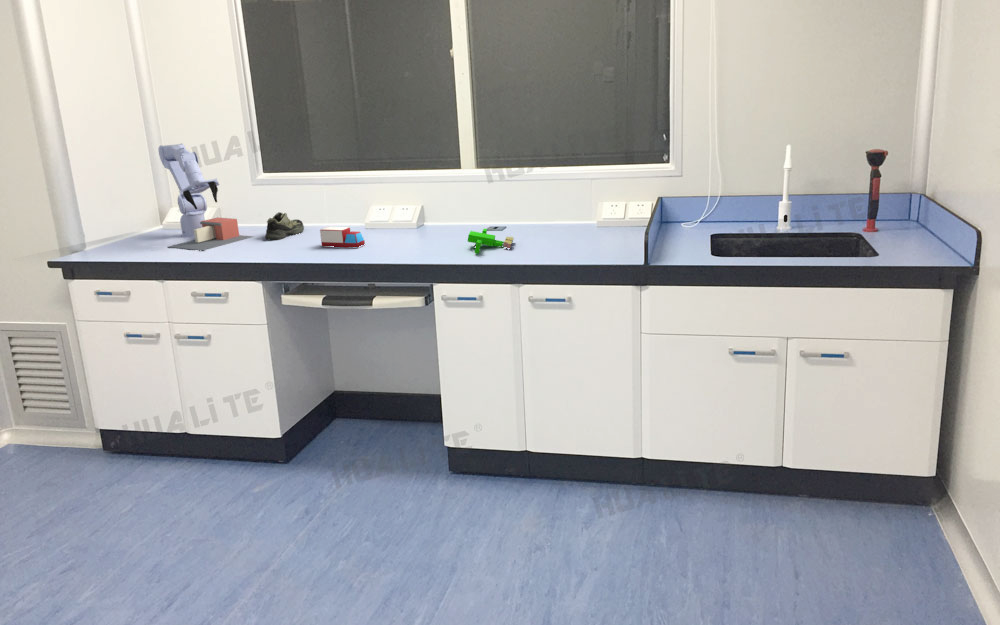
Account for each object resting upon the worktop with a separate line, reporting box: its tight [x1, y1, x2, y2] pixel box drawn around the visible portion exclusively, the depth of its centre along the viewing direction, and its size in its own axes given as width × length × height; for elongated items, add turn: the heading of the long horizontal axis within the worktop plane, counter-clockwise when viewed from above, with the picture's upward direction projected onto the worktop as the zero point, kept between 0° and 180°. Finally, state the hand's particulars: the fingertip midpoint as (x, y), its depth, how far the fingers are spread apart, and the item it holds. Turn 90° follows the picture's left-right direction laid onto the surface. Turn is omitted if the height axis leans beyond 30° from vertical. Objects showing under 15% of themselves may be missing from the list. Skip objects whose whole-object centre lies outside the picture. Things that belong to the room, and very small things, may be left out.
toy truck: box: [319, 226, 366, 247], centre depth 295 cm, size 6×15×7 cm, turn 69°
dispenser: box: [200, 216, 240, 240], centre depth 321 cm, size 11×9×7 cm
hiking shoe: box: [264, 211, 305, 241], centre depth 321 cm, size 8×21×9 cm, turn 162°
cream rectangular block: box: [194, 225, 216, 242], centre depth 316 cm, size 2×11×5 cm, turn 150°
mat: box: [167, 234, 255, 252], centre depth 315 cm, size 20×25×1 cm
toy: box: [467, 228, 514, 254], centre depth 282 cm, size 22×5×15 cm
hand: (205, 204), depth 308 cm, fingers open, 7 cm apart
